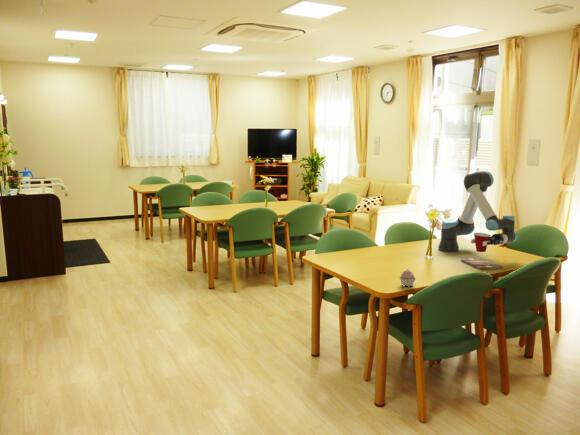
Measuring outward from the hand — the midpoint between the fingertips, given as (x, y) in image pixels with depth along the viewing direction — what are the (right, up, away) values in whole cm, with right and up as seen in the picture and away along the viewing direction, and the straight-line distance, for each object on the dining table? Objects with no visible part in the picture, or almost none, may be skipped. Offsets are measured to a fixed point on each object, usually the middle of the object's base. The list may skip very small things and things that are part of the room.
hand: (477, 242), depth 306 cm
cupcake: (-56, -23, -38) cm, 72 cm away
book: (+5, -15, +6) cm, 17 cm away
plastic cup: (+4, -6, +3) cm, 8 cm away
